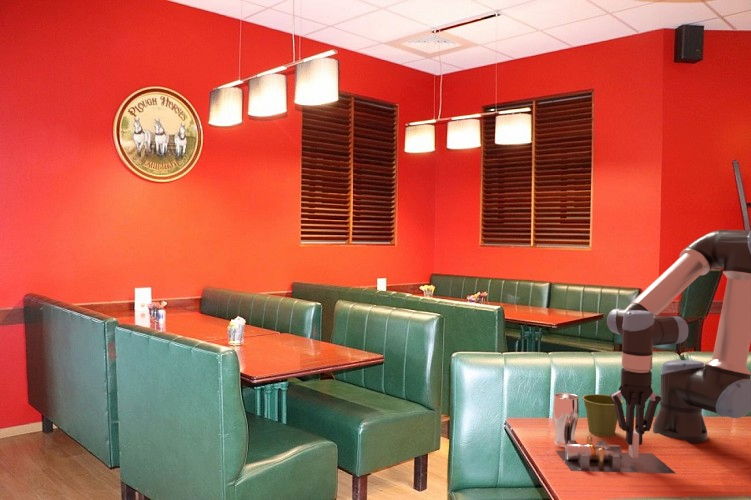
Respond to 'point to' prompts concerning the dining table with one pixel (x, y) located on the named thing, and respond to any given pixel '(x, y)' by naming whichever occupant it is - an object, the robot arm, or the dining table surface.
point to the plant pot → (601, 414)
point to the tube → (590, 451)
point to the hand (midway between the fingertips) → (633, 456)
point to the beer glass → (565, 417)
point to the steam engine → (615, 462)
